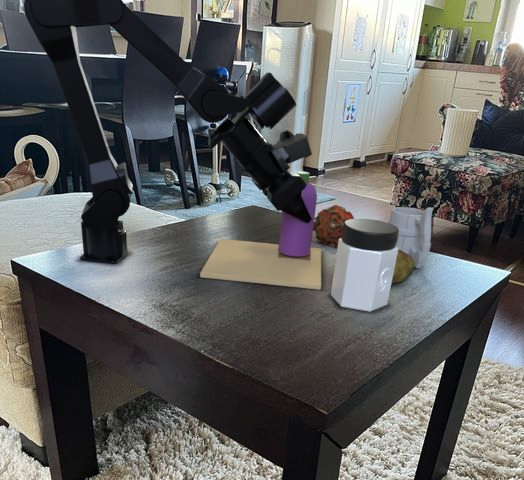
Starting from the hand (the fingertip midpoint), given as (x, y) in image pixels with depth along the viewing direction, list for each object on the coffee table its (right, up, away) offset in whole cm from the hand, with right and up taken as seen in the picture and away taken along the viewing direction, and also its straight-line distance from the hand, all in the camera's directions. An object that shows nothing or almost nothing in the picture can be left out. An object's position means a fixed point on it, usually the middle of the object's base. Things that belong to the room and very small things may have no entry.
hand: (305, 216), depth 97 cm
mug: (+19, -8, +4) cm, 21 cm away
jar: (+7, -17, -13) cm, 22 cm away
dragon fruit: (+6, -2, +14) cm, 15 cm away
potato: (+12, -12, -4) cm, 18 cm away
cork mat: (-7, -9, -1) cm, 11 cm away
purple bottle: (-2, -6, +3) cm, 7 cm away
